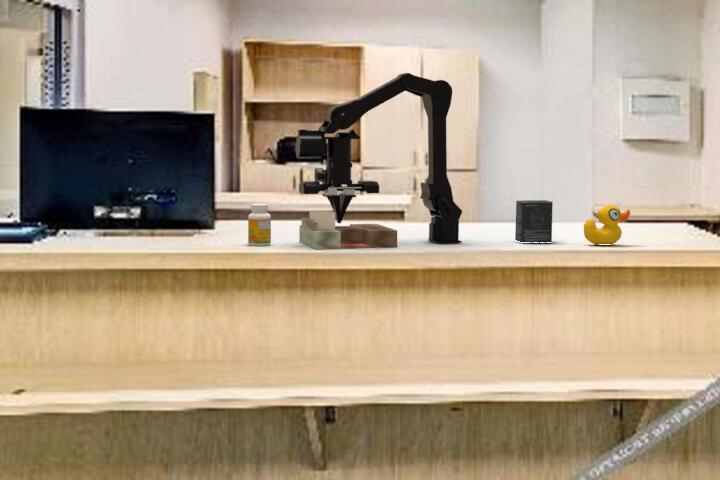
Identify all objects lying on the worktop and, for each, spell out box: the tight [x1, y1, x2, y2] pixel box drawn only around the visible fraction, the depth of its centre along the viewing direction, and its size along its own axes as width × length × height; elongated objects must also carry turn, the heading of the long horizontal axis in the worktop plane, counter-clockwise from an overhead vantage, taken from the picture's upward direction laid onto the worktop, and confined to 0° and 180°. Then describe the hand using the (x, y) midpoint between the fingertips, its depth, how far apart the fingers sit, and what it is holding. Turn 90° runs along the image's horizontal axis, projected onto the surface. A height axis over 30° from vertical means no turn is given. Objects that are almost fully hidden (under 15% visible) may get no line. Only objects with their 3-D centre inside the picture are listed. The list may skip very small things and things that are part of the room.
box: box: [514, 199, 553, 244], centre depth 235 cm, size 8×6×11 cm
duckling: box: [583, 204, 631, 245], centre depth 231 cm, size 11×5×10 cm, turn 95°
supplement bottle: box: [247, 203, 272, 247], centre depth 223 cm, size 5×5×10 cm
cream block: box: [309, 210, 336, 230], centre depth 224 cm, size 5×5×4 cm
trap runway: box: [298, 217, 398, 250], centre depth 227 cm, size 20×16×6 cm
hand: (338, 223), depth 226 cm, fingers closed
